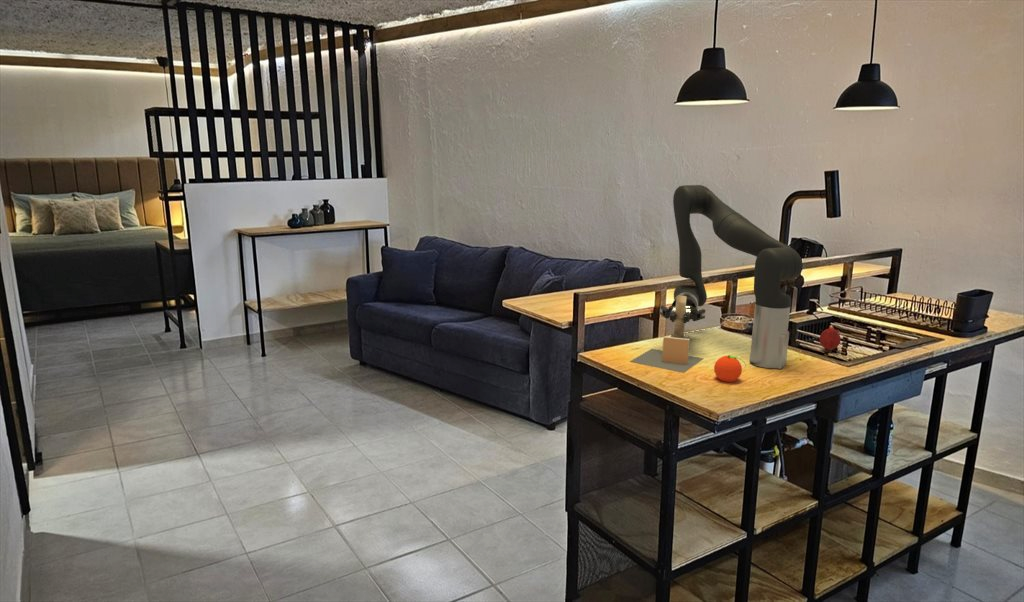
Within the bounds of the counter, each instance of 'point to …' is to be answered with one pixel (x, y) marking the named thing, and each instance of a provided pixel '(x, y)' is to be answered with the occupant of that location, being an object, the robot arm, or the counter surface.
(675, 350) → the tile
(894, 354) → the counter surface
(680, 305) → the pusher
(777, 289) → the robot arm
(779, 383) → the counter surface
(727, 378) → the clementine
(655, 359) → the mat
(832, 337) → the onion
